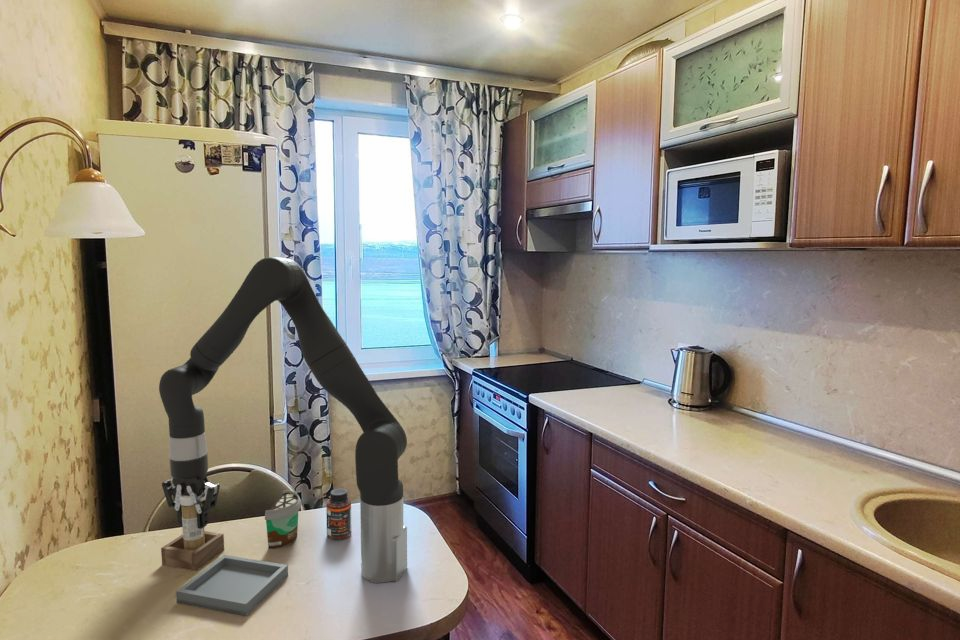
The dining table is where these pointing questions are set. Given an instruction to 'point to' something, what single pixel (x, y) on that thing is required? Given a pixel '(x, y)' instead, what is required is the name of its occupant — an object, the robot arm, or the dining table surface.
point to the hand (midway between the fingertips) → (193, 525)
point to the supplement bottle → (338, 515)
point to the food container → (283, 520)
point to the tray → (232, 585)
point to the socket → (192, 552)
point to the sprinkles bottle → (191, 524)
